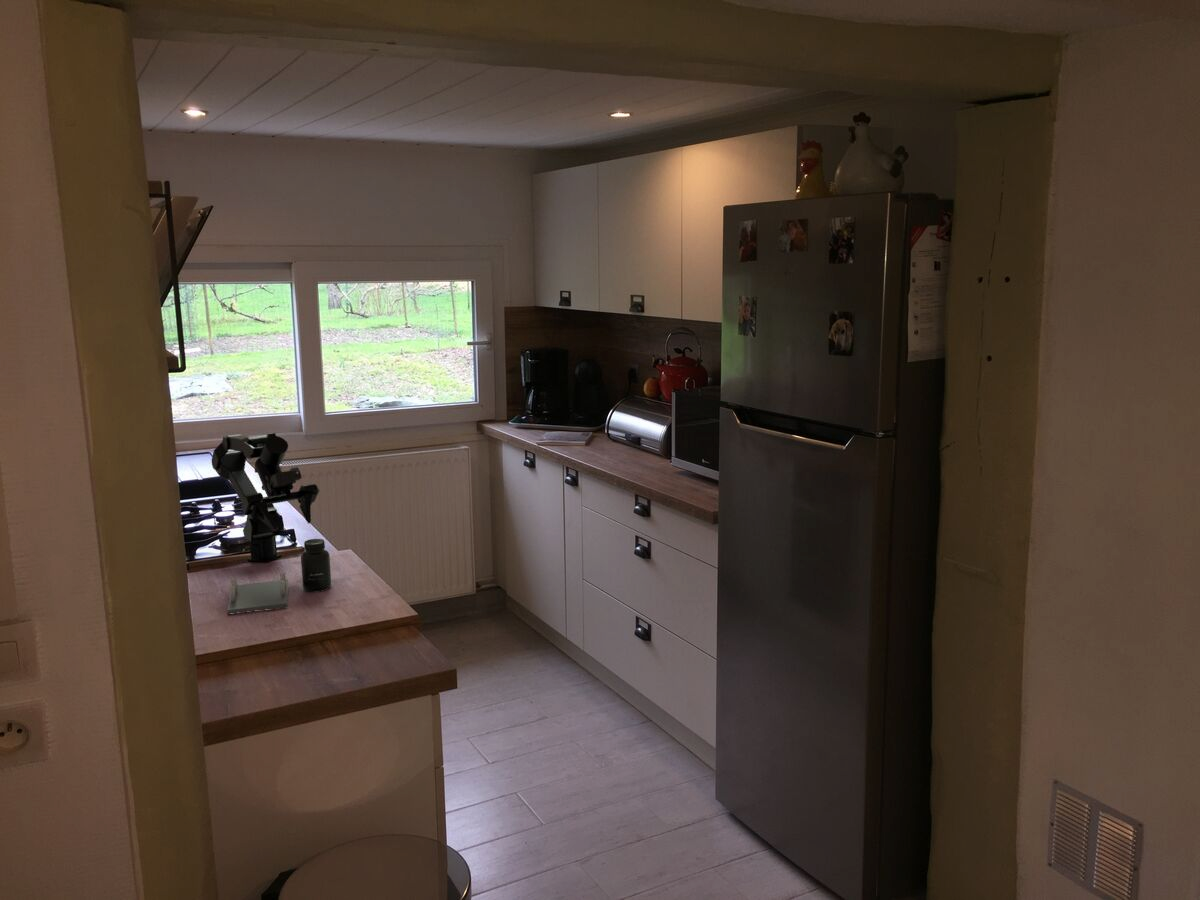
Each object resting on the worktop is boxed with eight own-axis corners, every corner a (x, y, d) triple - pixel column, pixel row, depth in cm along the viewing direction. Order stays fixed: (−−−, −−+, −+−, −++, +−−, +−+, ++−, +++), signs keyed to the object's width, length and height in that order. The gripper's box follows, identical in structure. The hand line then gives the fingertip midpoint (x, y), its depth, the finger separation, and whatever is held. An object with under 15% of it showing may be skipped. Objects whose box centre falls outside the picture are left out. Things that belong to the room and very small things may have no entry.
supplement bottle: (314, 594, 234) (310, 546, 232) (297, 589, 238) (293, 542, 236) (337, 586, 239) (334, 540, 237) (320, 581, 244) (316, 535, 241)
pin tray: (233, 590, 239) (231, 571, 238) (288, 583, 242) (286, 565, 241) (227, 614, 222) (225, 595, 221) (287, 608, 225) (285, 588, 224)
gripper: (242, 464, 240) (263, 515, 234) (313, 453, 252) (335, 502, 246) (233, 489, 247) (253, 540, 241) (303, 477, 259) (323, 525, 253)
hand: (292, 526), depth 245 cm, fingers open, 9 cm apart
